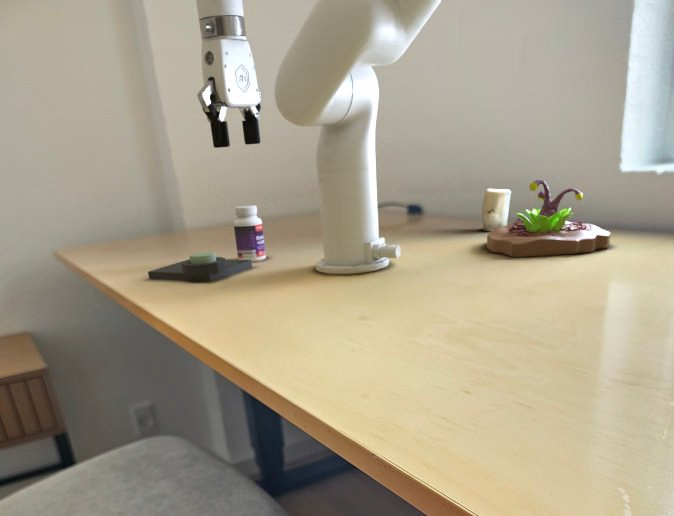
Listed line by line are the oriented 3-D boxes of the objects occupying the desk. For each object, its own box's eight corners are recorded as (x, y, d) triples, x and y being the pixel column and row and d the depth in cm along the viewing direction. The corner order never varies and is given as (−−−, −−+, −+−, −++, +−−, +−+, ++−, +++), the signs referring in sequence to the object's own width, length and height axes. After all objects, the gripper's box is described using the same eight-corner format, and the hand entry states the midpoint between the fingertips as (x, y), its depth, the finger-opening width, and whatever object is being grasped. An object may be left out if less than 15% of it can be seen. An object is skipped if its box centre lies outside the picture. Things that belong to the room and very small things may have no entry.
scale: (255, 267, 119) (253, 250, 117) (209, 284, 109) (206, 265, 107) (193, 265, 126) (190, 249, 124) (144, 281, 115) (141, 263, 114)
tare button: (222, 260, 113) (220, 251, 112) (205, 266, 109) (204, 256, 109) (202, 260, 115) (200, 251, 114) (185, 265, 111) (184, 256, 111)
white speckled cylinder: (509, 227, 139) (510, 186, 136) (510, 231, 135) (511, 189, 131) (481, 228, 140) (482, 188, 137) (481, 232, 136) (482, 191, 132)
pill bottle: (264, 261, 124) (258, 207, 120) (236, 263, 125) (229, 209, 120) (267, 256, 129) (261, 203, 125) (240, 258, 129) (233, 206, 125)
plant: (473, 242, 125) (474, 179, 120) (571, 233, 127) (576, 170, 122) (508, 261, 108) (511, 188, 103) (623, 250, 109) (631, 177, 104)
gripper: (208, 25, 102) (224, 147, 110) (270, 33, 115) (281, 141, 123) (171, 32, 105) (190, 150, 113) (236, 38, 119) (249, 143, 126)
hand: (237, 145), depth 118 cm, fingers open, 8 cm apart
